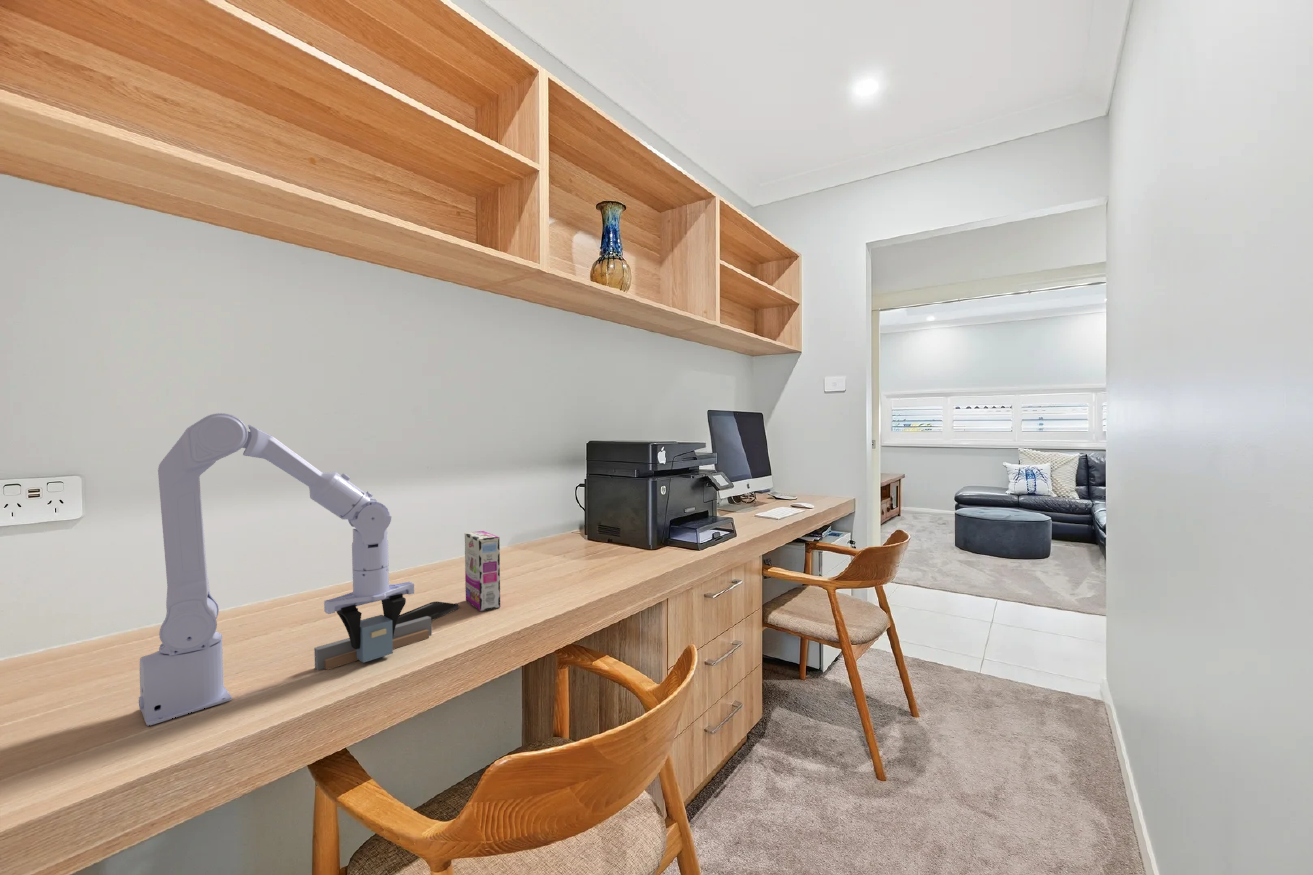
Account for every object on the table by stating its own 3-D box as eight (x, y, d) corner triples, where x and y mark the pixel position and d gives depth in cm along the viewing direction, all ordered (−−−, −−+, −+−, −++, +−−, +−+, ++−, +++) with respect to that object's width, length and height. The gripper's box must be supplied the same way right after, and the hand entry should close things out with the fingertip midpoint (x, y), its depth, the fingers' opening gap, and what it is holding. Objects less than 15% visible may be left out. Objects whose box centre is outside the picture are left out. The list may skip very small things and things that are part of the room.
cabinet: (364, 663, 92) (363, 629, 92) (353, 655, 96) (352, 622, 96) (394, 654, 96) (393, 621, 96) (382, 646, 99) (381, 614, 99)
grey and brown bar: (320, 672, 91) (319, 651, 91) (314, 667, 93) (314, 647, 93) (434, 636, 106) (433, 618, 106) (427, 633, 108) (427, 616, 108)
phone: (380, 622, 112) (434, 601, 126) (380, 628, 112) (434, 605, 126) (408, 627, 109) (460, 604, 123) (408, 632, 109) (460, 609, 123)
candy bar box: (502, 607, 123) (500, 536, 123) (480, 612, 120) (478, 539, 120) (485, 596, 132) (483, 529, 131) (464, 600, 129) (463, 532, 128)
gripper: (333, 579, 88) (336, 662, 88) (421, 562, 99) (422, 635, 99) (319, 573, 92) (321, 651, 93) (404, 556, 103) (405, 626, 104)
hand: (372, 642), depth 96 cm, fingers closed on cabinet, 5 cm apart
